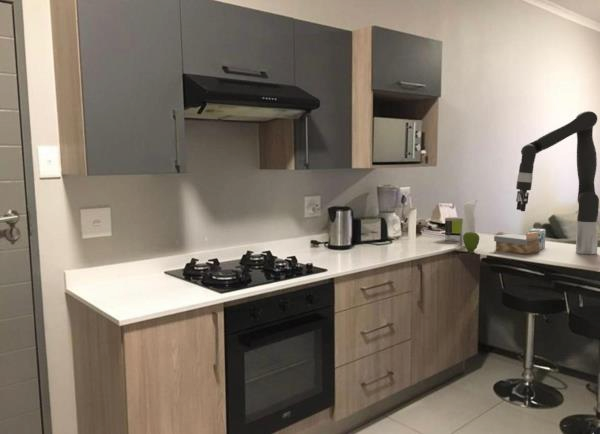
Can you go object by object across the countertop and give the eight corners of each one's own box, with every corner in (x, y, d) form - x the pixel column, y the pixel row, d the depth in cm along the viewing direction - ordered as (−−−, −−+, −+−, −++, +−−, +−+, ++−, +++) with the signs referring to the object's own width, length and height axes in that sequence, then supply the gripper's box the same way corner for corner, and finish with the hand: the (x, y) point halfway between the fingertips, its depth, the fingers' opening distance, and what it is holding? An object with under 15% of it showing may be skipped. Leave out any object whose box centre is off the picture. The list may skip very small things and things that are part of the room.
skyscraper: (473, 245, 304) (474, 199, 301) (476, 247, 296) (478, 200, 293) (459, 245, 305) (460, 199, 302) (462, 247, 297) (463, 200, 294)
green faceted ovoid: (482, 251, 281) (482, 231, 280) (471, 253, 277) (472, 232, 276) (470, 249, 289) (470, 229, 288) (459, 251, 285) (459, 230, 283)
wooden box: (539, 252, 278) (539, 239, 277) (526, 254, 270) (526, 241, 270) (508, 248, 292) (509, 236, 292) (495, 250, 285) (496, 238, 284)
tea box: (472, 240, 324) (473, 217, 323) (468, 242, 316) (469, 218, 314) (448, 238, 332) (449, 216, 331) (444, 240, 324) (444, 217, 322)
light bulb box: (541, 250, 285) (541, 230, 284) (528, 248, 289) (528, 230, 288) (545, 247, 293) (546, 228, 292) (532, 246, 298) (533, 228, 296)
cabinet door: (541, 242, 277) (541, 231, 277) (526, 245, 269) (526, 234, 268) (509, 238, 293) (509, 228, 292) (494, 241, 284) (494, 230, 283)
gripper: (535, 182, 271) (531, 212, 273) (528, 181, 285) (524, 209, 287) (520, 181, 272) (516, 211, 274) (514, 180, 286) (510, 208, 288)
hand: (520, 210), depth 281 cm, fingers open, 8 cm apart
